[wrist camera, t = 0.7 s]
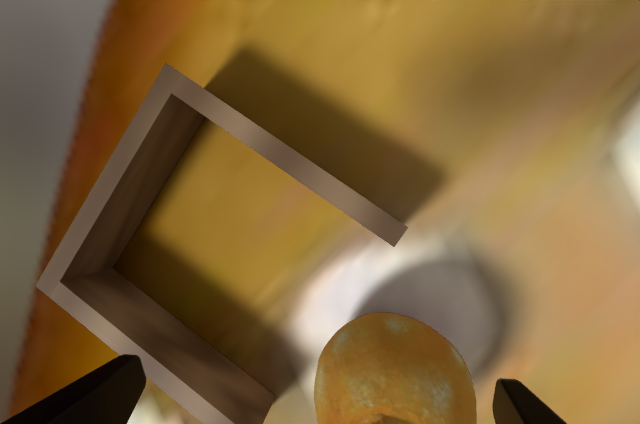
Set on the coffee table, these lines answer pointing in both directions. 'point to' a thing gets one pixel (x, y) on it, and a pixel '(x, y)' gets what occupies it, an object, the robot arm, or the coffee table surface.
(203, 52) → the coffee table surface
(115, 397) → the robot arm
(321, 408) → the fruit
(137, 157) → the tray
